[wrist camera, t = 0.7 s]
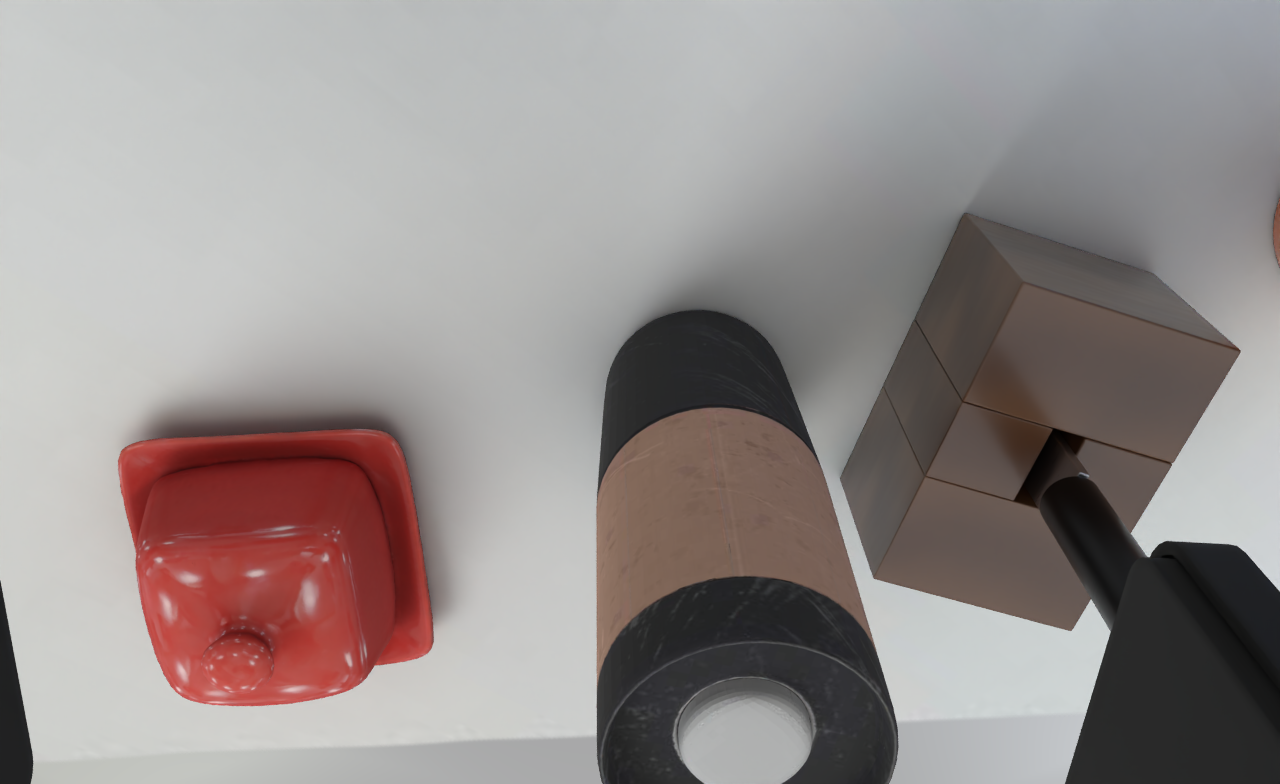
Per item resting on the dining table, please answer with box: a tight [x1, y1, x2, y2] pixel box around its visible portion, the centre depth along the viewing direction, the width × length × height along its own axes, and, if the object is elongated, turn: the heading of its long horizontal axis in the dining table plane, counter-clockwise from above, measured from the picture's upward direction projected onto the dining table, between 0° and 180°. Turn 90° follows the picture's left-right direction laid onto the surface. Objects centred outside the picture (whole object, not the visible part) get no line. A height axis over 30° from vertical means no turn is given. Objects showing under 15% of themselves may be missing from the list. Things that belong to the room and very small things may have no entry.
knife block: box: [840, 213, 1240, 631], centre depth 44 cm, size 12×8×7 cm, turn 162°
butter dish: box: [118, 429, 434, 706], centre depth 46 cm, size 12×12×8 cm
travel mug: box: [597, 310, 898, 784], centre depth 38 cm, size 8×8×20 cm
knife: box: [1023, 428, 1147, 631], centre depth 40 cm, size 2×2×16 cm
